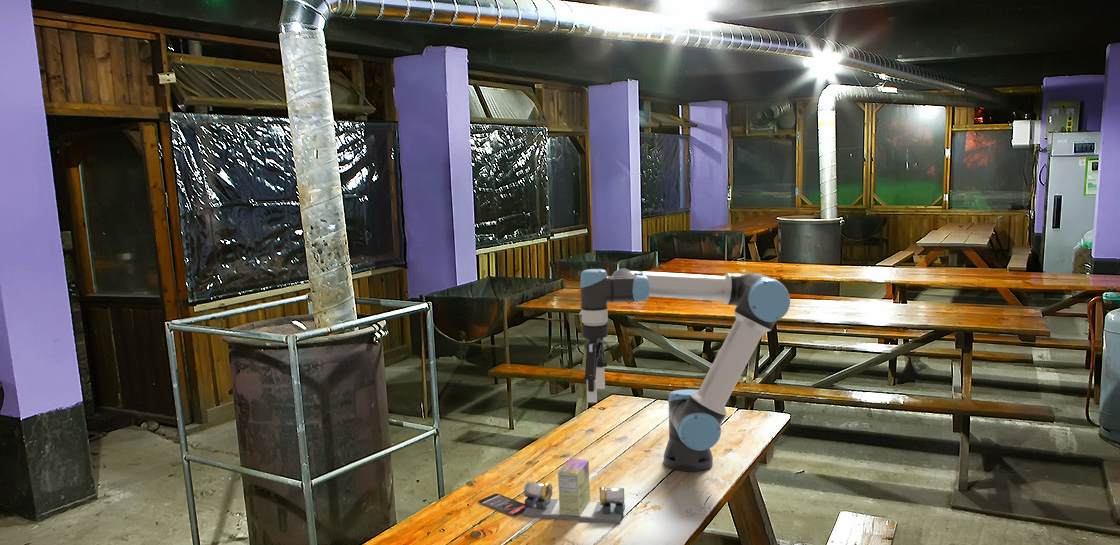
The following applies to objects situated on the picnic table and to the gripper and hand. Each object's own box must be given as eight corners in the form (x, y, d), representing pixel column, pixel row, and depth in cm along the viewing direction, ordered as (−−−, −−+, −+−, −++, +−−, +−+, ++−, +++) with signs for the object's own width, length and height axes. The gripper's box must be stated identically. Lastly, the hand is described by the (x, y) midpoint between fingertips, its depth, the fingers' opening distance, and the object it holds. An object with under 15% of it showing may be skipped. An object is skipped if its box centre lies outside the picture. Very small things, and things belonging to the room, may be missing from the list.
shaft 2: (624, 509, 206) (623, 483, 205) (624, 517, 202) (624, 490, 201) (600, 509, 207) (599, 483, 206) (600, 517, 202) (599, 491, 201)
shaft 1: (552, 506, 210) (552, 480, 209) (545, 513, 205) (545, 487, 204) (531, 503, 212) (530, 477, 211) (524, 510, 208) (523, 484, 207)
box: (570, 498, 212) (569, 457, 210) (590, 500, 210) (589, 459, 208) (558, 514, 202) (557, 472, 200) (579, 517, 200) (578, 474, 199)
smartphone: (514, 516, 204) (476, 501, 214) (514, 518, 204) (477, 503, 214) (533, 507, 209) (496, 492, 219) (533, 509, 209) (496, 495, 219)
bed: (624, 507, 208) (624, 503, 208) (619, 523, 198) (619, 519, 198) (532, 500, 214) (532, 497, 214) (523, 516, 204) (523, 512, 204)
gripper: (589, 315, 231) (591, 383, 234) (572, 331, 207) (574, 407, 210) (614, 315, 230) (615, 383, 232) (600, 332, 206) (601, 408, 208)
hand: (596, 395), depth 221 cm, fingers open, 13 cm apart
